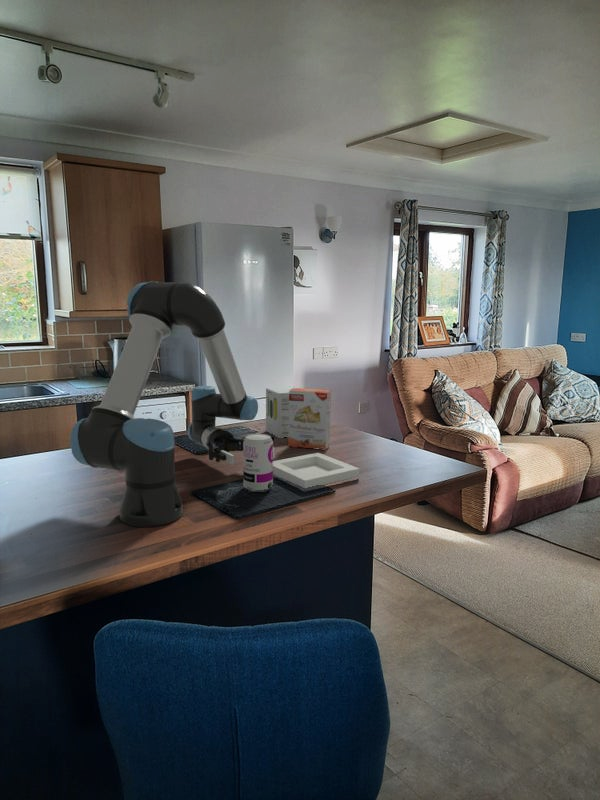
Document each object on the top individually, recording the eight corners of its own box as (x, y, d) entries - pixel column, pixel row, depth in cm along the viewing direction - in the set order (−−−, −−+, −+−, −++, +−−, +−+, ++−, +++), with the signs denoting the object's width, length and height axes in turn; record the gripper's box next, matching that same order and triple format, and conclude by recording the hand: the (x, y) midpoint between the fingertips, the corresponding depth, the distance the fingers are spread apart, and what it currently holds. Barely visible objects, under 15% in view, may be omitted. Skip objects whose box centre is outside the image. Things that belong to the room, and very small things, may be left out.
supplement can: (274, 484, 164) (274, 433, 161) (270, 494, 156) (270, 441, 153) (246, 483, 165) (246, 432, 162) (241, 492, 156) (240, 440, 154)
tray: (304, 492, 157) (305, 480, 157) (266, 473, 173) (266, 462, 173) (359, 479, 169) (359, 468, 168) (317, 462, 185) (318, 452, 184)
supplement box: (264, 431, 226) (265, 387, 223) (294, 427, 232) (295, 385, 229) (279, 438, 214) (279, 393, 211) (309, 435, 220) (310, 390, 217)
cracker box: (287, 447, 203) (288, 389, 199) (292, 443, 208) (293, 387, 204) (325, 451, 199) (327, 392, 195) (329, 446, 204) (331, 389, 200)
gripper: (252, 446, 186) (289, 462, 170) (181, 458, 172) (215, 476, 155) (252, 423, 185) (289, 437, 168) (181, 434, 170) (214, 450, 154)
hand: (254, 456), depth 162 cm, fingers open, 13 cm apart
